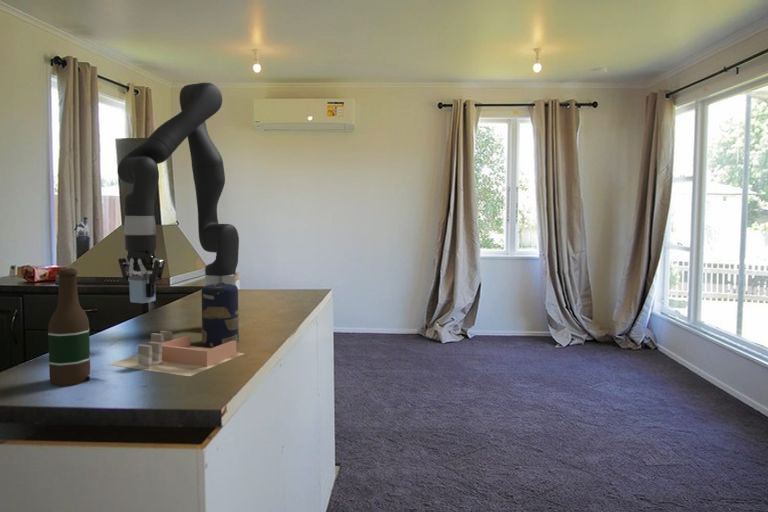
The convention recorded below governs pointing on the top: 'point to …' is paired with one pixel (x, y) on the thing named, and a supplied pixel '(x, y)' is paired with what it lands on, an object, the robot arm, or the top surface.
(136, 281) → the grey block
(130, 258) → the robot arm
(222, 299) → the canister
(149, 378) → the top surface
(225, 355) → the tray
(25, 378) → the top surface
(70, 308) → the beer bottle
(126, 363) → the board
